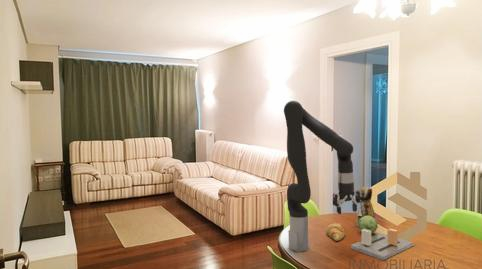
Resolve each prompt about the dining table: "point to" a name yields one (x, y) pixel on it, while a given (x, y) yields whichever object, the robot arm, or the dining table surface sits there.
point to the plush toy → (365, 204)
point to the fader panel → (381, 247)
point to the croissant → (335, 231)
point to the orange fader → (392, 236)
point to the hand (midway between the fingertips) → (347, 212)
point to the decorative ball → (368, 223)
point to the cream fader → (366, 236)
